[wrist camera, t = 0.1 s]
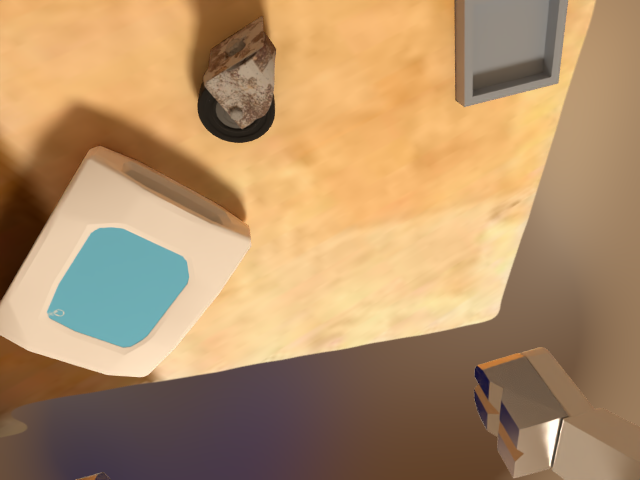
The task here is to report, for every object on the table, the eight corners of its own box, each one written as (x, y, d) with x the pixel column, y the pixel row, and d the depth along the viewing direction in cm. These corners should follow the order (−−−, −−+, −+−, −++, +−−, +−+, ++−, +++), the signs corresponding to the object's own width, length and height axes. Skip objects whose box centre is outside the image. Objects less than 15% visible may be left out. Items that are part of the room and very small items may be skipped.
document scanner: (252, 221, 63) (256, 248, 58) (148, 354, 73) (144, 387, 68) (96, 136, 53) (84, 159, 48) (-1, 303, 63) (-20, 337, 57)
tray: (454, -6, 52) (464, -3, 50) (557, -30, 53) (571, -28, 51) (455, 100, 59) (464, 106, 57) (546, 77, 60) (558, 83, 58)
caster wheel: (231, 131, 58) (173, 66, 51) (309, 86, 55) (259, 10, 48) (229, 166, 54) (166, 100, 47) (314, 119, 50) (260, 41, 43)
